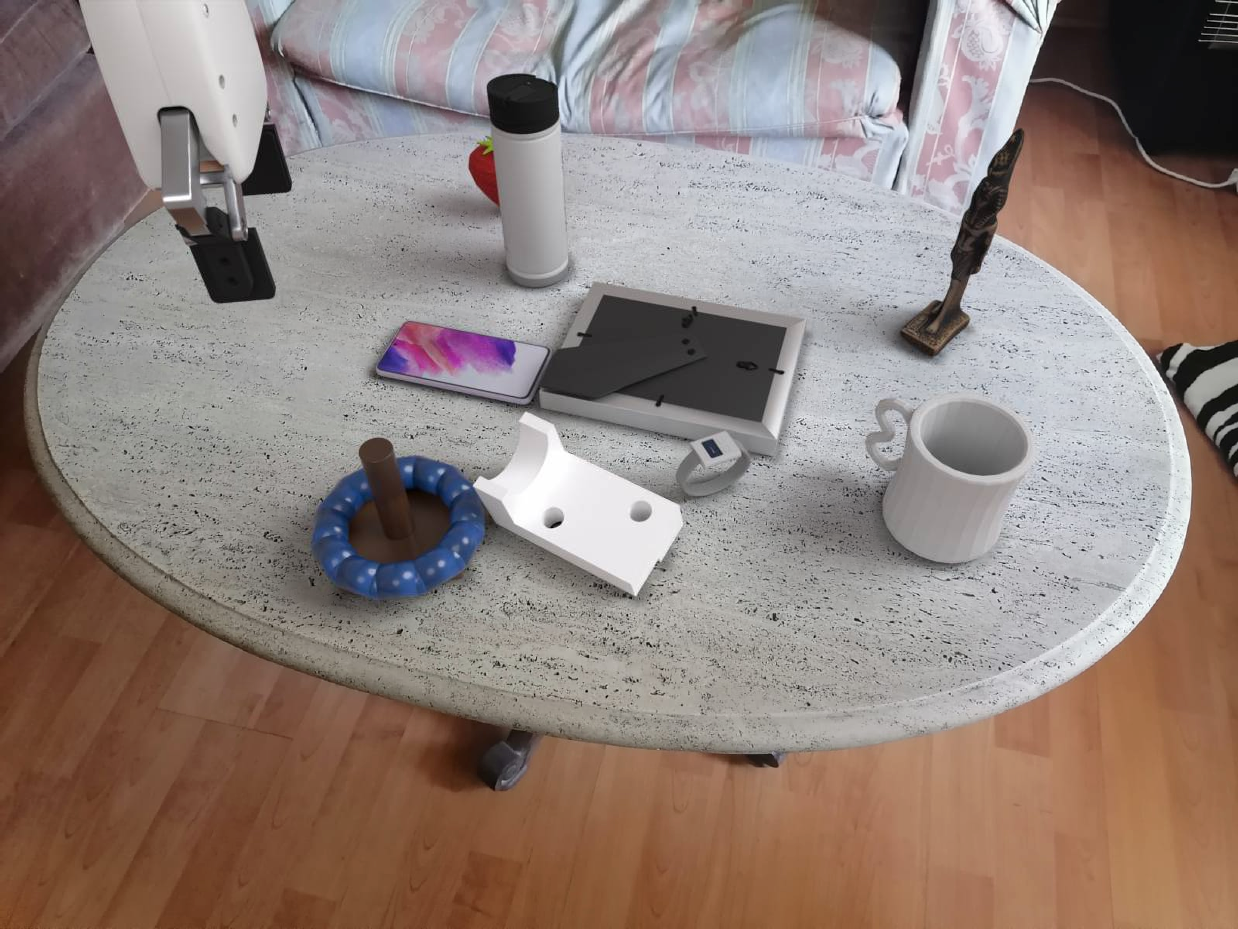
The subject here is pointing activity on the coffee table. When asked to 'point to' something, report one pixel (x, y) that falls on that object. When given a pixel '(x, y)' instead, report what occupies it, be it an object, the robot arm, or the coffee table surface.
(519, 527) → the bracket
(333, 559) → the blue spotted ring
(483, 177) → the strawberry
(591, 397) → the picture frame
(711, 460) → the wristwatch
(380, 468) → the peg stand
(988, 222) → the statue
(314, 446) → the coffee table surface
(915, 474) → the mug
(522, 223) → the travel mug
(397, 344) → the smartphone
